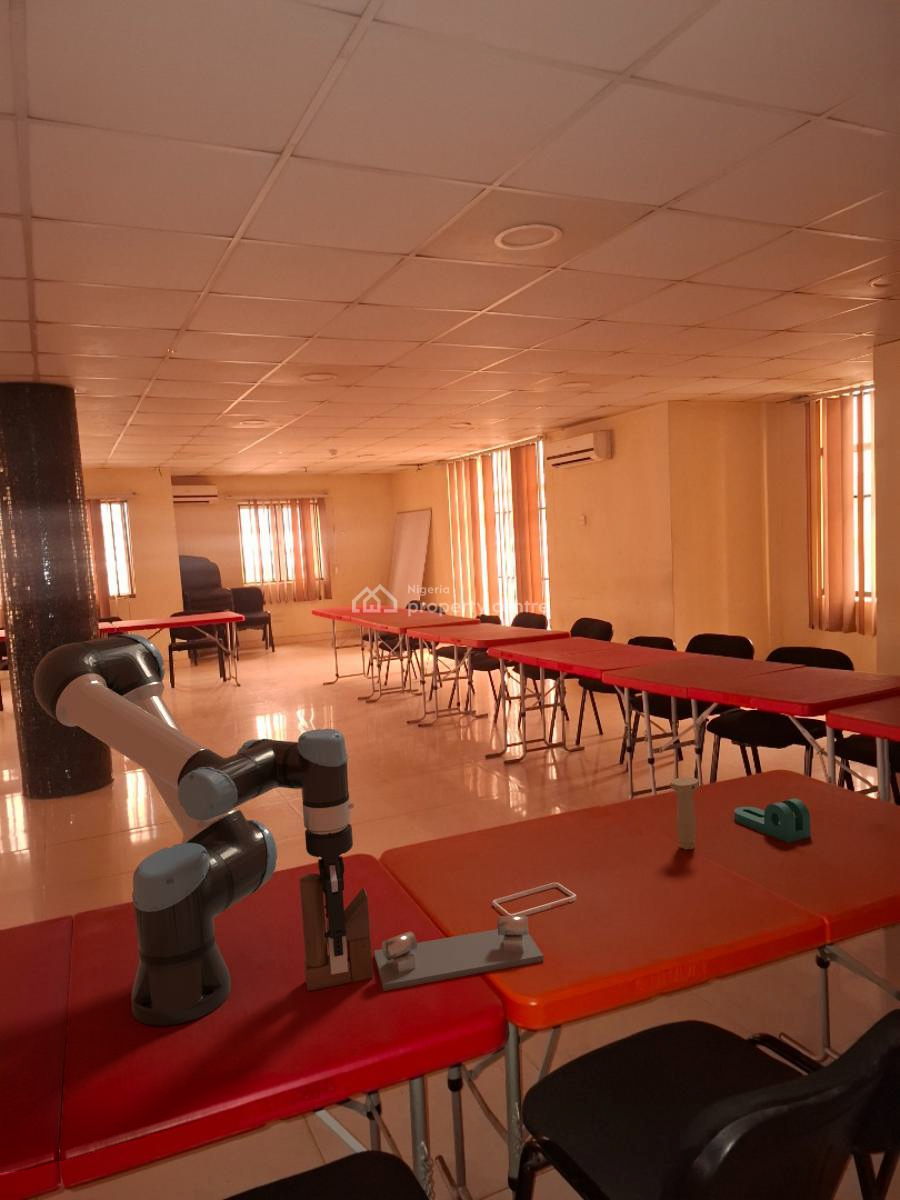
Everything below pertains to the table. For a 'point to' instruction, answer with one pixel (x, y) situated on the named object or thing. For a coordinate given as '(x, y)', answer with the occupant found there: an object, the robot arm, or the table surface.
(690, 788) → the handle
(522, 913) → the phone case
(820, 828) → the table surface
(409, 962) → the grey block
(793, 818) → the bracket
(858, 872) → the table surface
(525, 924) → the grey knob
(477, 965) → the plate
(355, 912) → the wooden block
